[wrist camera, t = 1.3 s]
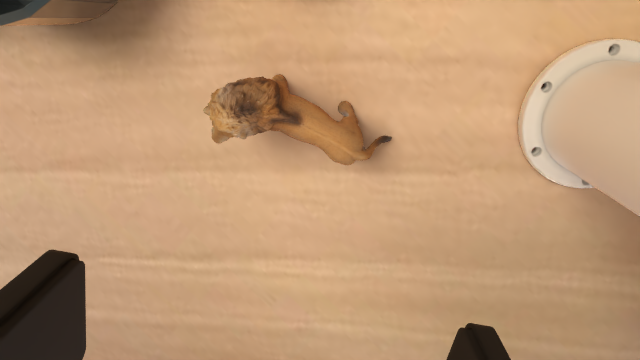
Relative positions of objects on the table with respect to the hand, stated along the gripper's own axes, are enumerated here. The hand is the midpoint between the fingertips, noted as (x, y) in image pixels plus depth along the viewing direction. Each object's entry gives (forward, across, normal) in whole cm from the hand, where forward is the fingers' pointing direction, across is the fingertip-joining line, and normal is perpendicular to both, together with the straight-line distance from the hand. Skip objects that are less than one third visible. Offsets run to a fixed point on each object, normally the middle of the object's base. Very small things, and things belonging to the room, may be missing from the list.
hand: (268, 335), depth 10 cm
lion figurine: (+28, +1, +1) cm, 28 cm away
